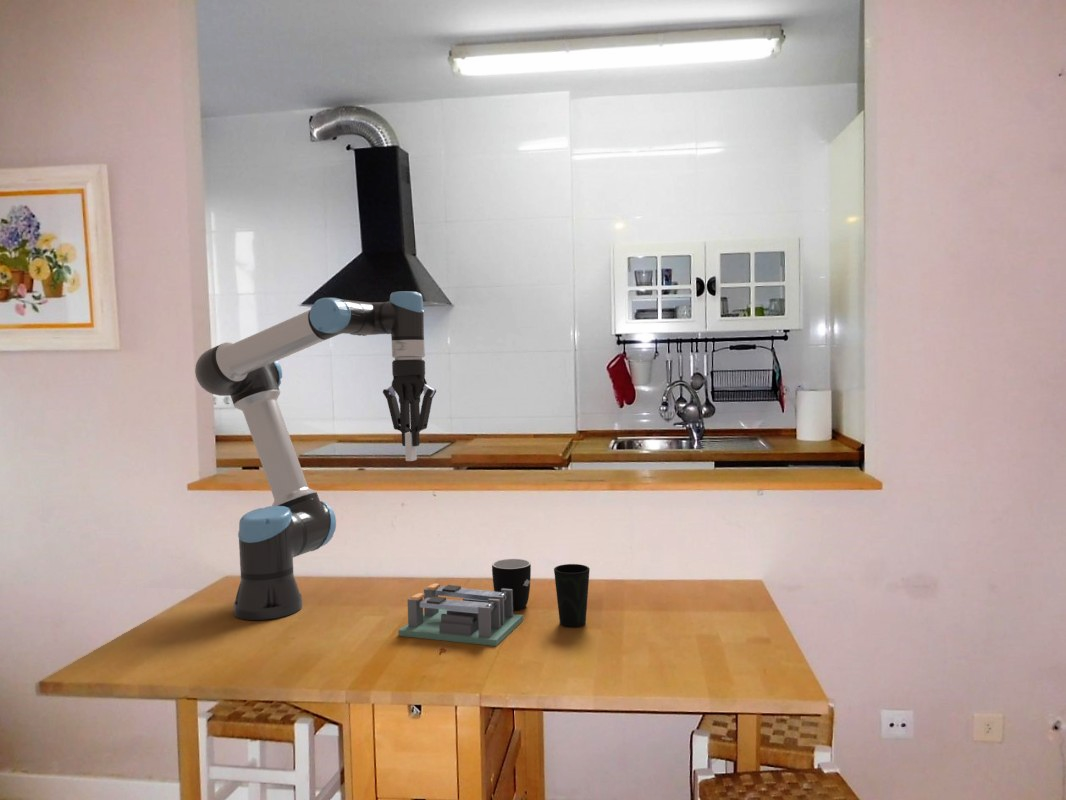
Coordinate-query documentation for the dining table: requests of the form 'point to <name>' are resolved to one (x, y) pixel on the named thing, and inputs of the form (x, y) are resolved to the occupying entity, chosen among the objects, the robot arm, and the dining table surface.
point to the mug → (513, 579)
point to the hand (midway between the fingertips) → (411, 460)
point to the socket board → (461, 620)
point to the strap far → (468, 593)
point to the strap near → (454, 604)
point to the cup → (572, 594)
